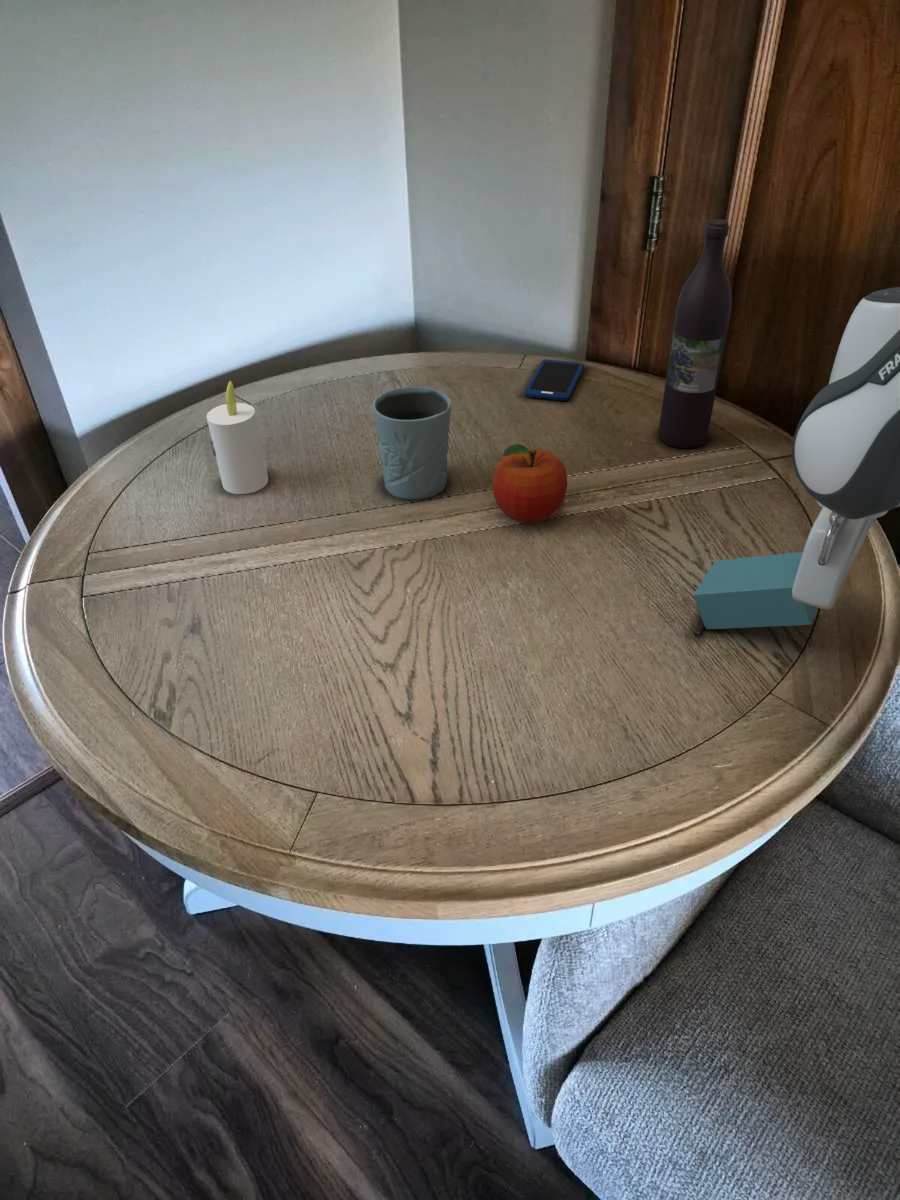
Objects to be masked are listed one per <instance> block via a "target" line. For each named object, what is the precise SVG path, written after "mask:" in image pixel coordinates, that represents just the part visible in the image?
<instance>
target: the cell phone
mask: <svg viewBox="0 0 900 1200" xmlns="http://www.w3.org/2000/svg"><path fill="white" fill-rule="evenodd" d="M584 368H585V364H584V363H583V362H578V361H577V362H576V361H567V360H559V359H543V360H541V362H540V364H539V365H538V367H537V369H536V370H535V373H534V374H533V375H532V377H531V379H530V381H529V383H528V384H527V387H526V388H525V391H524V396H525V397H527V398H534V399H542V400H543V399H544V400H553V401H562V402H568V401H569V400H570V398H571V396H572V394H573V392H574V390H575V388H576V386H577V383H578V382H579V379H580V377H581V375H582V373H583V371H584Z"/></svg>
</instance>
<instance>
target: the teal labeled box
mask: <svg viewBox="0 0 900 1200" xmlns="http://www.w3.org/2000/svg"><path fill="white" fill-rule="evenodd" d="M802 554H803V551H796V552H786V553H777V554H767V555H766V554H765V555H758V556H748V557H739V558H730V559H729V558H728V559H719V560H714V562H713V563H712V564H711V567H709V569H708V571H707V573H706V574H705V576H704V577H703V579H702V580H701V582H700V584H699V585H698V586H697V588H696V590H695V591H694V593H693V598H694V600H695V604H696V606H697V609H698V612H699V615H700V617H701V619H702V620H703V623H704V626H705V627H704V629H705V630H725V629H747V628H767V627H769V628H770V627H789V626H791V627H792V626H809V625H810V626H811V625H812V623H813V620H814V619H815V616H816V614H817V611H818V610H819V608H817V607H813V606H810V605H807V604H804V603H801V602H798V601H796V600H794V599H793V597H792V589H793V584H794V581H795V578H796V574H797V571H798V567H799V564H800V560H801V557H802Z"/></svg>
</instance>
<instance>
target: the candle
mask: <svg viewBox="0 0 900 1200" xmlns="http://www.w3.org/2000/svg"><path fill="white" fill-rule="evenodd" d="M225 391H226V392H225V403H224V404H221V405H218V406H215V407H213V408H212V409H210V410H209V411H208V412H207V414H206V421H207V425H208V426H207V427H208V429H209V434H210V436H209V441H210V445H211V449H212V454H213V457H215V460H216V464H217V468H218V470H219V476H220V480H221V484H222V487H223V489H224V490H225V491H226V492H227V493H230V494H233V495H248V494H252V493H255V492H257V491H260V490H262V489H263V488H264V487H266V486H267V485H268V483H269V475H268V471H267V465H266V460H265V455H264V451H263V443H262V440H261V435H260V429H259V423H258V419H257V414H256V409H255V408H254V407H253V406H252V404H251V405H250V404H248V403H244V402H237V399H236V394H235V389H234V384H233V382H232V380H229V382H228V383H227V386H226V390H225Z"/></svg>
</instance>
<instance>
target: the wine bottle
mask: <svg viewBox="0 0 900 1200" xmlns="http://www.w3.org/2000/svg"><path fill="white" fill-rule="evenodd" d="M729 231H730V225H729V221H728V220H726V219H722V218H711V219H708V220H707V223H706V224H705V227H704V232H703V233H704V236H705V237H704V243H703V249H702V251H701V255H700V259H699V261H698V263H697V265H696V266H695V268H694V269H693V270H692V272H691V274H690V275H689V276H688V278H687V279H686V281H685V283H684V285H683V286H682V288H681V290H680V293H679V296H678V299H677V304H676V309H675V314H674V321H673V322H674V323H673V329H672V336H671V341H670V342H671V343H670V348H669V357H668V362H667V370H666V377H665V383H664V391H663V397H662V404H661V411H660V417H659V424H658V430H657V431H658V433H657V434H658V438H659V440H660V441H661V442H663V443H664V444H665V445H667V446H670V447H674V448H677V449H678V448H679V449H693V448H697V447H700V446H702V445H704V444H705V443H706V441H707V439H708V435H709V432H710V431H709V430H710V426H711V420H712V416H713V409H714V405H715V399H716V395H717V388H718V384H719V378H720V374H721V373H720V372H721V367H722V362H723V357H724V352H725V347H726V346H725V345H726V340H727V335H728V330H729V325H730V320H731V314H732V306H733V296H732V295H733V292H732V287H731V283H730V280H729V277H728V274H727V271H726V267H725V263H724V250H725V246H726V238H727V237H728V236H729Z"/></svg>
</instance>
